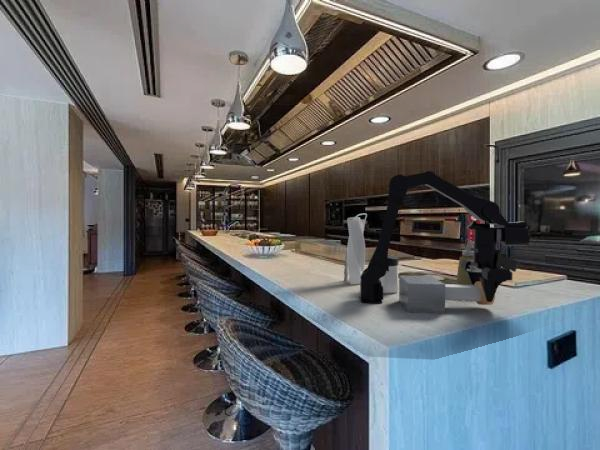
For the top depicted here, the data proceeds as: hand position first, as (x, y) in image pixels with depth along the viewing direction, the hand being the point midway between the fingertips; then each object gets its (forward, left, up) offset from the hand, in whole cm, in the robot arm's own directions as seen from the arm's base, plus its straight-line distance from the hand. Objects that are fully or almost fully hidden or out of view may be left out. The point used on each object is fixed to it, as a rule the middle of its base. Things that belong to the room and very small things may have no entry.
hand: (483, 298), depth 93 cm
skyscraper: (-35, +31, -3) cm, 47 cm away
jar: (-25, +19, -3) cm, 31 cm away
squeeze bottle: (+4, +21, -3) cm, 22 cm away
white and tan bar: (-5, 0, -2) cm, 6 cm away
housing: (-18, 0, -3) cm, 18 cm away
